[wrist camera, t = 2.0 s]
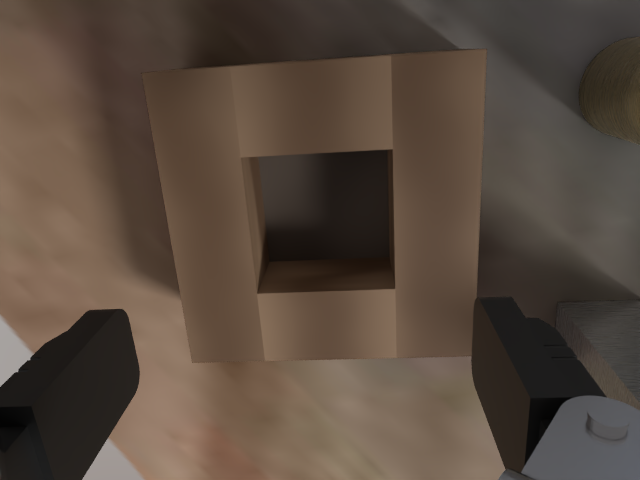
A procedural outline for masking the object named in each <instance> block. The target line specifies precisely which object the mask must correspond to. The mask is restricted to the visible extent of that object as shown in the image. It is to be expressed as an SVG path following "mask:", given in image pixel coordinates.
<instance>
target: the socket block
mask: <svg viewBox="0 0 640 480" xmlns="http://www.w3.org/2000/svg"><path fill="white" fill-rule="evenodd" d="M486 59H487V49H457V50H442V51H428V52H414V53H399V54H385V55H371V56H356V57H342V58H328V59H313V60H299V61H284V62H270V63H256V64H241V65H227V66H213V67H198V68H184V69H173V70H164V71H154V72H145V73H141V74H142V80H143V86H144V91H145V97H146V103H147V108H148V114H149V120H150V126H151V131H152V137H153V143H154V148H155V154H156V160H157V165H158V171H159V177H160V182H161V188H162V194H163V199H164V205H165V211H166V216H167V222H168V228H169V234H170V239H171V245H172V251H173V256H174V262H175V268H176V273H177V279H178V285H179V290H180V296H181V302H182V307H183V313H184V319H185V324H186V330H187V336H188V342H189V347H190V353H191V359H192V363H205V362H247V361H289V360H331V359H374V358H416V357H458V356H472V334H473V311H474V302H475V299H476V298H477V276H478V252H479V228H480V204H481V180H482V155H483V131H484V107H485V83H486Z"/></svg>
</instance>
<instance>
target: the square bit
mask: <svg viewBox="0 0 640 480" xmlns="http://www.w3.org/2000/svg"><path fill="white" fill-rule="evenodd" d="M555 329H557V330H558V332H559V333H560V334H561V336H562V337H563V338H564V340H565V341H566V342H567V344H568V347H570V348H571V349H572V351H573V352H574V353H575V355H576V356H577V360H580V361H581V363H582V364H583V365H584V367H585V368H586V370H587V371H588V372H589V374H590V375H591V376H592V378H593V379H594V380H595V382H596V383H597V384H598V386H599V387H600V389H601V390H602V391H603V393H604V394H605V395H606V397H607V398H611V399H614V400H618V401H621V402H623V403H626V404H628V405H630V406H632V407H634V408H636V409H637V410H639V411H640V300H616V301H584V302H558V304H557V314H556V324H555Z"/></svg>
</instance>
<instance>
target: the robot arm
mask: <svg viewBox="0 0 640 480" xmlns="http://www.w3.org/2000/svg"><path fill="white" fill-rule="evenodd" d="M471 361H472V374H473V381H474V385H475V388H476V391H477V394H478V396H479V399H480V402H481V404H482V407H483V410H484V413H485V415H486V418H487V421H488V423H489V426H490V429H491V431H492V434H493V437H494V440H495V442H496V445H497V448H498V450H499V453H500V456H501V458H502V461H503V464H504V466H505V469H506V470H505V471H504V472H503V473H502V475H501V476H500V477H499V479H498V480H640V411H639V410H637V409H636V408H634V407H632V406H630V405H628V404H626V403H623V402H621V401H618V400H614V399H611V398H607V397H606V395H605V394H604V393H603V391H602V390H601V389H600V387H599V386H598V384H597V383H596V382H595V380H594V379H593V378H592V376H591V375H590V374H589V372H588V371H587V370H586V368H585V367H584V365H583V364H582V363H581V361H580V360H577V356H576V355H575V353H574V352H573V351H572V349H571V348H570V347H568V344H567V342H566V341H565V340H564V338H563V337H562V336H561V334H560V333H559V332H558V330H557V329H555V328H553V327H552V326H550V325H549V324H547V323H545V322H544V321H542V320H541V319H539V318H525V316H524V315H523V313H522V312H521V310H520V309H519V307H518V306H517V304H516V303H515V301H514V299H513V298H512V297H485V298H476V299H475V302H474V311H473V334H472V359H471ZM139 376H140V371H139V364H138V359H137V355H136V350H135V345H134V341H133V336H132V332H131V327H130V322H129V318H128V316H127V313H126V312H125V311H124V310H123V309H104V310H89V311H87V312H86V313H85V314H84V315H83V316H82V317H81V318H80V319H79V320H78V321H77V322H76V323H75V324H74V325H73V326H72V327H71V328H70V329H69V330H68V331H66V332H64V333H62V334H61V335H59V336H57V337H56V338H54V339H52V340H50V341H49V342H47V343H45V344H44V345H43V346H42V347H41V348H40V349H39V350H38V351H37V352H36V353H35V354H34V355H33V356H32V357H31V360H30V361H27V362H26V363H25V364H24V365H22V366H21V367H20V369H19V371H18V372H16V373H14V374H13V375H12V376H11V377H10V378H9V379H8V380H7V381H6V382H5V383H4V384H3V385H2V386H1V387H0V480H82V479H83V477H84V475H85V474H86V472H87V470H88V469H89V467H90V466H91V464H92V463H93V461H94V459H95V458H96V456H97V454H98V453H99V451H100V450H101V448H102V446H103V445H104V443H105V442H106V440H107V438H108V437H109V435H110V434H111V432H112V430H113V429H114V427H115V426H116V424H117V422H118V421H119V419H120V418H121V416H122V414H123V413H124V411H125V409H126V408H127V406H128V405H129V403H130V401H131V400H132V398H133V397H134V395H135V393H136V391H137V388H138V384H139Z"/></svg>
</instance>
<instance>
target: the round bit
mask: <svg viewBox="0 0 640 480" xmlns="http://www.w3.org/2000/svg"><path fill="white" fill-rule="evenodd" d="M579 103H580V107H581V111H582V113H583V115H584V117H585V119H586V120H587V121H588V123H589V124H590V125H591V126H593V127H594V128H595V129H597V130H598V131H600V132H602V133H605V134H608V135H611V136H614V137H617V138H620V139H623V140H626V141H629V142H632V143H635V144H638V145H640V37H632V38H626V39H623V40H620V41H617V42H615V43H613V44H611V45H609V46H608V47H606V48H605V49H604V50H602V51H601V52H600V53H599V54H598V55H597V56H596V57H595V58H594V59H593V60H592V62H591V63H590V64H589V66H588V67H587V69H586V71H585V73H584V75H583V77H582V80H581V84H580V89H579Z"/></svg>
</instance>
